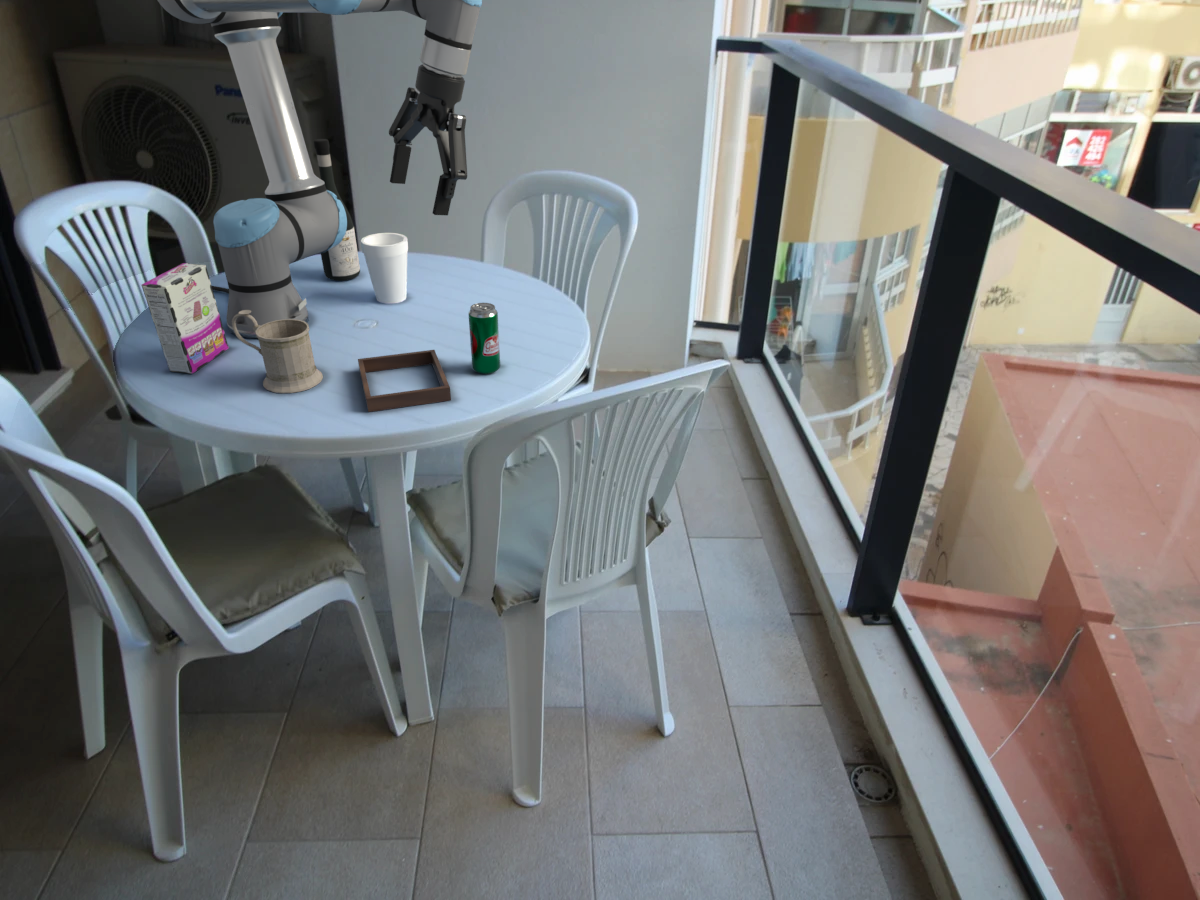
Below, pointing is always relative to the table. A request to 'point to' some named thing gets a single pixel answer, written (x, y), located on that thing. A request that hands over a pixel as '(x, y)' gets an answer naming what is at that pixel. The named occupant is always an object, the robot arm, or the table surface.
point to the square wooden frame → (408, 396)
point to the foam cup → (387, 265)
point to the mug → (284, 354)
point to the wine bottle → (344, 256)
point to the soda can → (484, 338)
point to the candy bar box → (186, 317)
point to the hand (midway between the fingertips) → (418, 198)
